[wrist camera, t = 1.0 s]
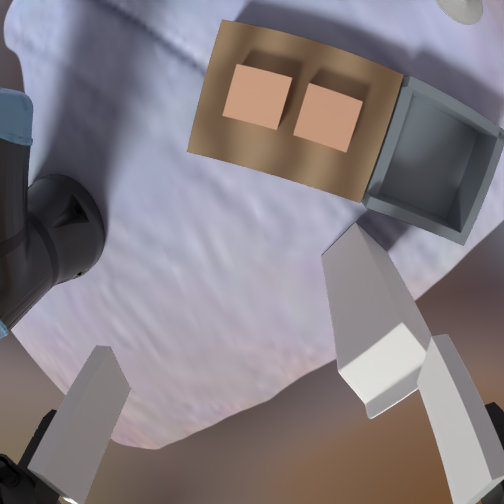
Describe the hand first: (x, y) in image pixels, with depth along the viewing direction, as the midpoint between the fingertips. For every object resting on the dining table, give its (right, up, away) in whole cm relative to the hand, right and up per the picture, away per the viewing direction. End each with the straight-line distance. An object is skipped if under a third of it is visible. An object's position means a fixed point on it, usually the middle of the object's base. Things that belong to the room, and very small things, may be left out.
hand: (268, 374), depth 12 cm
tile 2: (0, +19, +16) cm, 25 cm away
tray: (+19, +15, +20) cm, 31 cm away
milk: (+12, +5, +26) cm, 29 cm away
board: (+4, +20, +19) cm, 28 cm away
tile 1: (+6, +17, +16) cm, 24 cm away
